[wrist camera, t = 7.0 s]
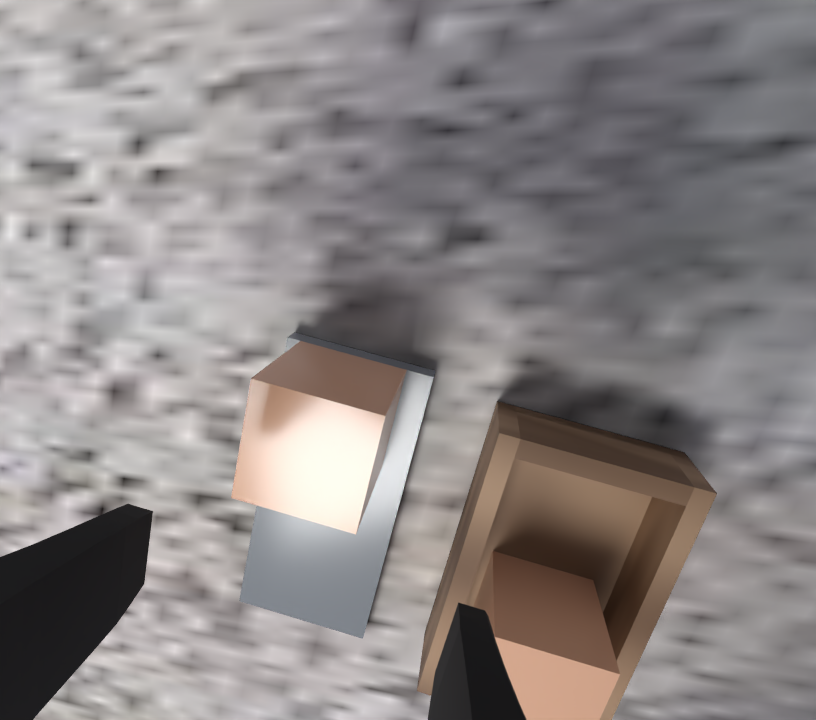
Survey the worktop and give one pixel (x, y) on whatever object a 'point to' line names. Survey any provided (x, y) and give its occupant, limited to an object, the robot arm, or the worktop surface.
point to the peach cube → (549, 638)
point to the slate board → (329, 547)
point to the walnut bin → (575, 525)
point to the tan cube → (317, 434)
